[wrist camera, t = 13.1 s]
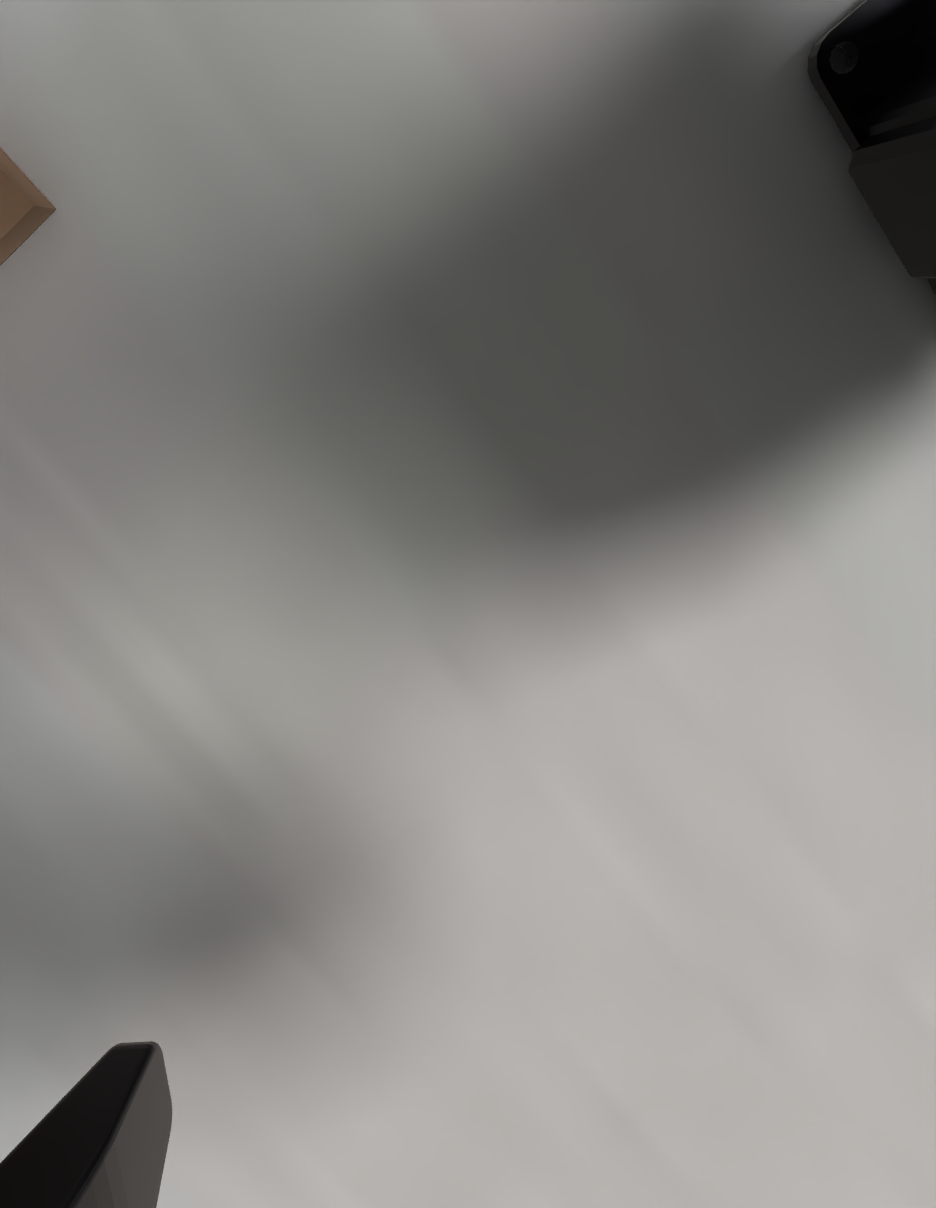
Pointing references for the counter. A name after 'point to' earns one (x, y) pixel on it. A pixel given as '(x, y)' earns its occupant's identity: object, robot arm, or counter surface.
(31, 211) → the base board
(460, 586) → the counter surface
